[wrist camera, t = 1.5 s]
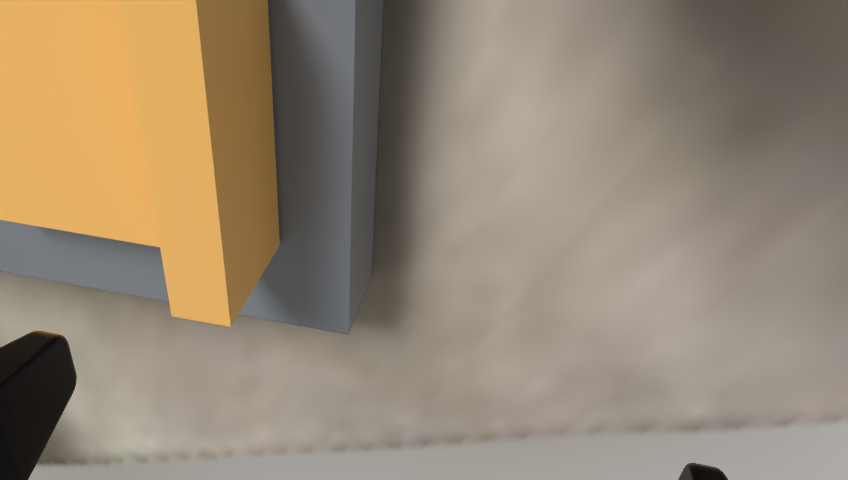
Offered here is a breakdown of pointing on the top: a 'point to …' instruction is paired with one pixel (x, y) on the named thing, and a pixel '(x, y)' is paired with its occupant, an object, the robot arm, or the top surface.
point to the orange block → (146, 135)
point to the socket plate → (296, 180)
